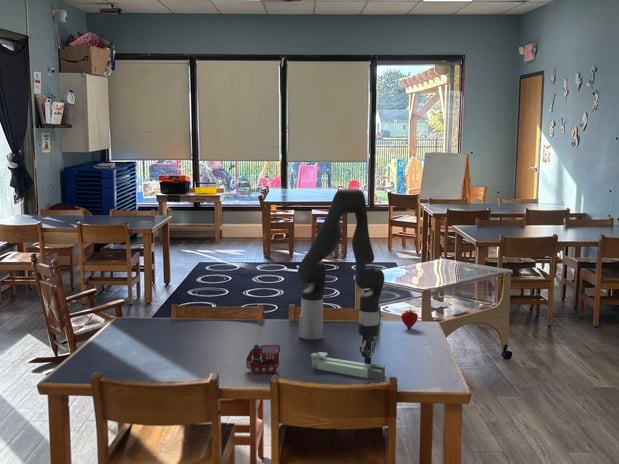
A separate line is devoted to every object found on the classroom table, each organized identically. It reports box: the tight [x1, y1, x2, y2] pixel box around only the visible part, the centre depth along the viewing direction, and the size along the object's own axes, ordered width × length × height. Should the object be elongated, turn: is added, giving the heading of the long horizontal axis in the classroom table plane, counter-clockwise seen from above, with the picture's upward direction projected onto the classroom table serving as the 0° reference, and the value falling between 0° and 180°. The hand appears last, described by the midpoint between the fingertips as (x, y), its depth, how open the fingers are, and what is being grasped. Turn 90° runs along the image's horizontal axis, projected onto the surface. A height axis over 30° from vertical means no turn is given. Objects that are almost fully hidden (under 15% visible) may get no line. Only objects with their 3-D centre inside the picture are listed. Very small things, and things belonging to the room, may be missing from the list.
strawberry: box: [401, 306, 419, 330], centre depth 314 cm, size 6×8×10 cm
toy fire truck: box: [245, 344, 281, 375], centre depth 260 cm, size 7×12×10 cm, turn 94°
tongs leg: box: [311, 357, 383, 381], centre depth 260 cm, size 27×3×4 cm, turn 66°
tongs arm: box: [310, 351, 386, 377], centre depth 261 cm, size 28×5×5 cm, turn 69°
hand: (367, 366), depth 263 cm, fingers closed
